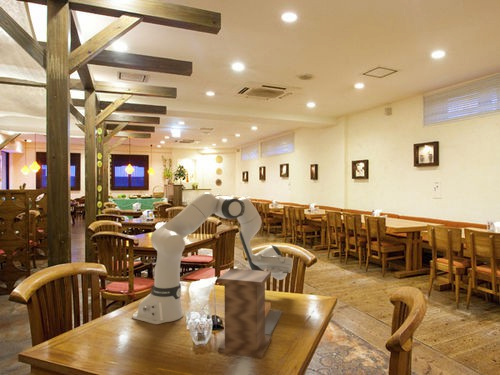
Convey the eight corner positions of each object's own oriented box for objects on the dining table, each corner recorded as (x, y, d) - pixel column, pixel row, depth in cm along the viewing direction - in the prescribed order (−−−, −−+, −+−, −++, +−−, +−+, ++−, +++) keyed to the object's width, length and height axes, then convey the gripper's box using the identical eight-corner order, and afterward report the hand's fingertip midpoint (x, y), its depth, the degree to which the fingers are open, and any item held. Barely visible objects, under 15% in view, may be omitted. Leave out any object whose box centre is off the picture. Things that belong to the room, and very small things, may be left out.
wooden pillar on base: (217, 351, 116) (217, 278, 116) (231, 334, 130) (231, 268, 130) (261, 358, 112) (261, 282, 111) (271, 339, 125) (270, 271, 125)
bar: (250, 328, 133) (250, 320, 133) (264, 308, 154) (264, 301, 154) (257, 328, 132) (257, 321, 132) (270, 308, 153) (270, 302, 153)
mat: (235, 332, 131) (235, 329, 131) (252, 310, 154) (252, 307, 154) (269, 336, 127) (269, 334, 127) (282, 313, 150) (282, 311, 150)
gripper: (256, 257, 171) (249, 248, 160) (295, 260, 165) (290, 251, 154) (254, 269, 169) (247, 261, 157) (294, 273, 162) (289, 264, 151)
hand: (269, 256), depth 155 cm, fingers open, 8 cm apart
